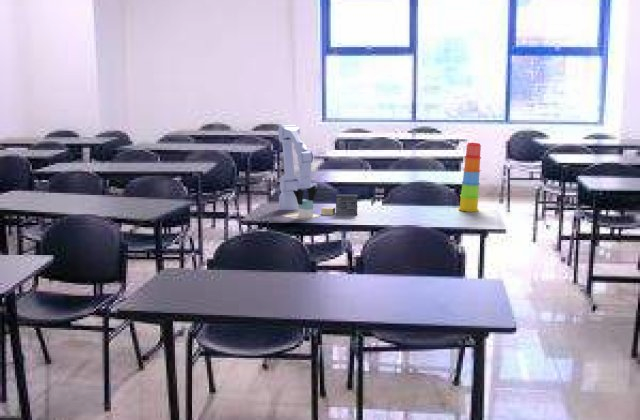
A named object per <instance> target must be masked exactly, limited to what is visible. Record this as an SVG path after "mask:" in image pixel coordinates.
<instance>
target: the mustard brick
mask: <svg viewBox="0 0 640 420" xmlns="http://www.w3.org/2000/svg"><path fill="white" fill-rule="evenodd" d="M320 215H322V216H323V215H325V216H334V215H336V207H332V206H323V207H321V209H320Z"/></svg>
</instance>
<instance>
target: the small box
mask: <svg viewBox="0 0 640 420" xmlns="http://www.w3.org/2000/svg"><path fill="white" fill-rule="evenodd" d="M335 216H353V217H354V216H356V217H357V216H358V194H345V193H343V194H336V195H335Z"/></svg>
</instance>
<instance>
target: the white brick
mask: <svg viewBox="0 0 640 420" xmlns="http://www.w3.org/2000/svg"><path fill="white" fill-rule="evenodd" d="M297 210H298V211H297V212H298V213H299V216H300V217H305V218H309V217H313V214H314V208H313V209H309V210H305V209H300V208H299V207H297Z"/></svg>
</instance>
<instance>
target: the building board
mask: <svg viewBox="0 0 640 420" xmlns="http://www.w3.org/2000/svg"><path fill="white" fill-rule="evenodd" d="M280 216H281V217H285V218H289V219H290V218H291V219H295V220H301V221H305V220H311V219H314V218H319V217H323V214H317V213H313V217H309V218H305V217H300V216H299V213H298V211H295V212H291V213H285V214H282V215H281V214H280Z"/></svg>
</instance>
